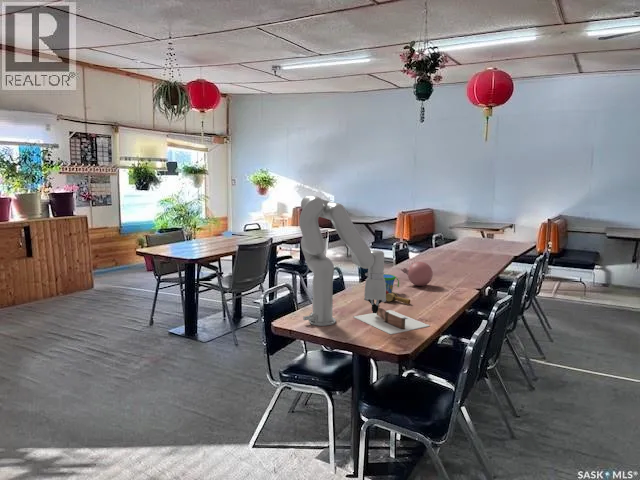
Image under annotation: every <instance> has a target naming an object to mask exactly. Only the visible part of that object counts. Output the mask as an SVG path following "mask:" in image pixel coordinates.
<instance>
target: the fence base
mask: <svg viewBox="0 0 640 480" xmlns="http://www.w3.org/2000/svg"><path fill="white" fill-rule="evenodd" d="M385 322H388V323H389V324H392V325H394V326H396V327H399V328H401V329H405V319H402V318H400V317H397V316H395V315H392V314H390V313H389V312H385Z"/></svg>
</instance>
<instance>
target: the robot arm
mask: <svg viewBox="0 0 640 480" xmlns="http://www.w3.org/2000/svg"><path fill="white" fill-rule="evenodd" d="M300 207H301V209H302V210H301V212H300V215H299V222H298V223H299V227H300V231H301V235H302V237H301V240H300V247H301V251H302V254H303V256H304V260H305V263H306V265H307V267H308V269H309V271H311V272H312V273H313V276H312V285H311V286H312V290H311V291H312V312H310V314H309V315H305V316H303V317H302V318H303V321H308V322H309V324H310V325H313V326H317V327H318V326H320V327H325V326H327V327H328V326H332V325H334V324H336V323H337V319H336V318H334V317H333V302H334V301H333V297H334V296H333V294H334V293H333V289H334V288H333V287H334V286H333V285H334V284H333V283H334V273H335V266H334V263H333V261H332V260H331V259H330V258H329V257H327V256H325V253H324V252H325V249H326V243H325V240H324V237H323V234H322V232H321V229H320V225H319V218H323V219H327V220H329V221H330V222H331V223H332V224H331V225H333V227H334V229H335V231H336V233H337V234H338V237H339V239H341V241H342V242H343V243H344V244H346V245H347V246H348V247H349V249H350V250H351V251H352V254H351V261H352V263H353V264H354V265H356V266H358V267H360V268H361V269H364V270H367V269H368V270H367V272H365V273H364V276H366V279H365V284H364V298H363V300H364V301H367V302H369V303H370V306H371V311H372V313H377V311H378V305H380V304H381V303H386V302H387V301H386V283H385V279H384V273H385V272H384V270H385V252H384V251H383V250H376V249H375V250H373V249H372V250H371V249H370V247H369V245H368V244H367V242H366V241H365V239H364V238H363V237H362V236H361V234H360V232H359V231H358V229H357V228H356V227H355V224H354V223H353V220H352V219H351V217H350V215H349V213H348V212H347V210H346V208H345V207H344V205H342V203H340V202H339V203H338V202H333V201H330V200H326V199H323V198H321V197H320V196H315V195H306V196H304V197H303V198H302V200H301V201H300Z"/></svg>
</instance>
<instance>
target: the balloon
mask: <svg viewBox="0 0 640 480" xmlns="http://www.w3.org/2000/svg"><path fill="white" fill-rule="evenodd" d="M400 271H401V272H403V274H406V275H407V278H408V280H409V281H410V283H411V284H412V285H414V286H417V287H424V286H427V285H428V284H429V283H430V282H431V281H432V279H433V269H432V267H431V266H430V265H429V264H428V263H426V262H425V261H416V262H413V263H412V264H411V265H409V266H407V267H403V268H401V269H400Z"/></svg>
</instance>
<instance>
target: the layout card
mask: <svg viewBox="0 0 640 480" xmlns="http://www.w3.org/2000/svg"><path fill="white" fill-rule="evenodd" d="M385 311H386V312H389V313H390V314H392V315H395V316H397V317H400V318H402V319H405V329H401V328H399V327H396V326H394V325H392V324H389V323H388V322H385V320H384V319H383V318H381V317H380V316H379V315H377V313H373V312H371V313H367V314H366V313H365V314H361V315H360V314H359V315H354V316H353V319H356V320H358V321H360V322H363V323H365V324H367V325H368V326H371V327H374V328H376V329H378V330H380V331H381V332H384V333H386V334H388V335H395V334H396V335H397V334H400V333H405V332H408V331H413V330H419V329H423V328H428V327H430V324H427V323H424V322H422V321H419V320H417V319H414V318H412V317H411V316H410V317H409V316H407V315H404V314H402V313H400V312H397V311H394V310H392V309H388V310H385Z"/></svg>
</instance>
